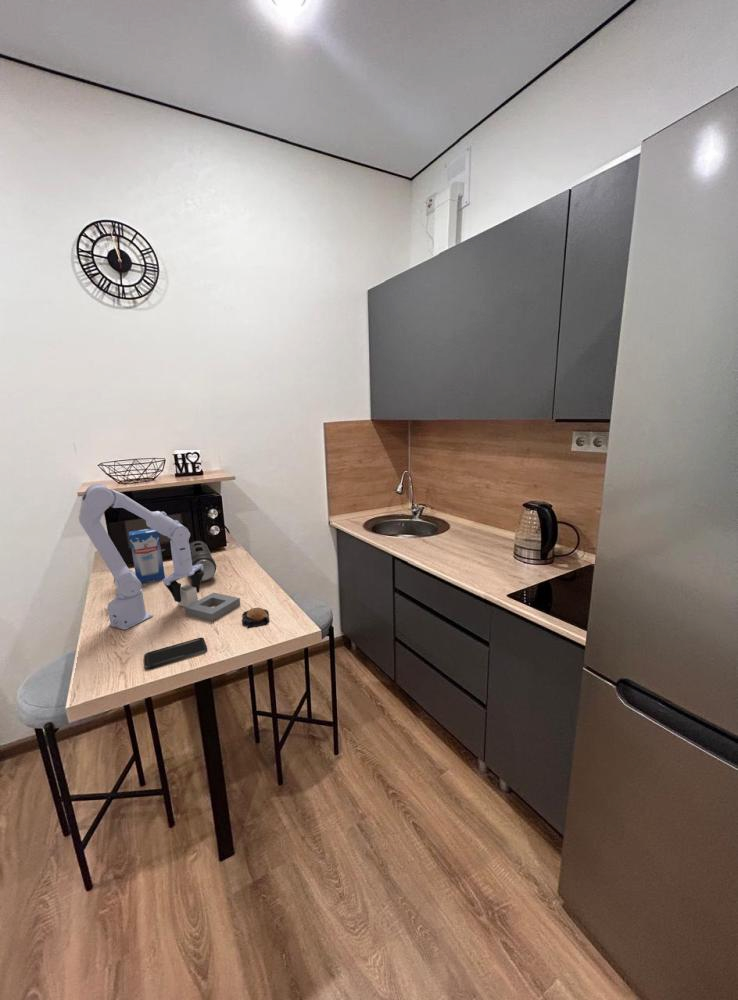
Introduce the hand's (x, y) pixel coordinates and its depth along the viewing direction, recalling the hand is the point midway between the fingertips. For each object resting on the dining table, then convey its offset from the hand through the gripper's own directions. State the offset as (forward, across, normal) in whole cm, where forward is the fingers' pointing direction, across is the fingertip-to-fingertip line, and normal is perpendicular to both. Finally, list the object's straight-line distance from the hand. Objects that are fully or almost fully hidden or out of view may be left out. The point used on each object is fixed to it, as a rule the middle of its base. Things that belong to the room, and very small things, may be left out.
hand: (187, 596), depth 138 cm
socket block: (+3, 0, -12) cm, 12 cm away
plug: (+3, 0, 0) cm, 3 cm away
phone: (+3, -23, -22) cm, 32 cm away
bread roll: (+3, 0, -30) cm, 30 cm away
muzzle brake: (+3, +23, +19) cm, 30 cm away
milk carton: (+3, +10, +33) cm, 35 cm away
